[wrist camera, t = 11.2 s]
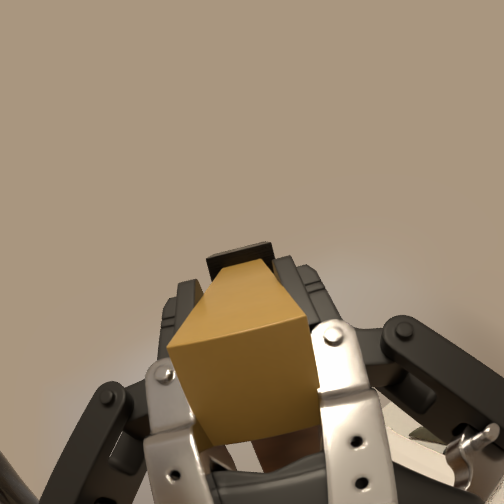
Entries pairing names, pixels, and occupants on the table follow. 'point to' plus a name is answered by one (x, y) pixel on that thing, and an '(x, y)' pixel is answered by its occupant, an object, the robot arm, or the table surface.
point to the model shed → (419, 458)
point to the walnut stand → (286, 448)
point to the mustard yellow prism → (247, 352)
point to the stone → (425, 435)
